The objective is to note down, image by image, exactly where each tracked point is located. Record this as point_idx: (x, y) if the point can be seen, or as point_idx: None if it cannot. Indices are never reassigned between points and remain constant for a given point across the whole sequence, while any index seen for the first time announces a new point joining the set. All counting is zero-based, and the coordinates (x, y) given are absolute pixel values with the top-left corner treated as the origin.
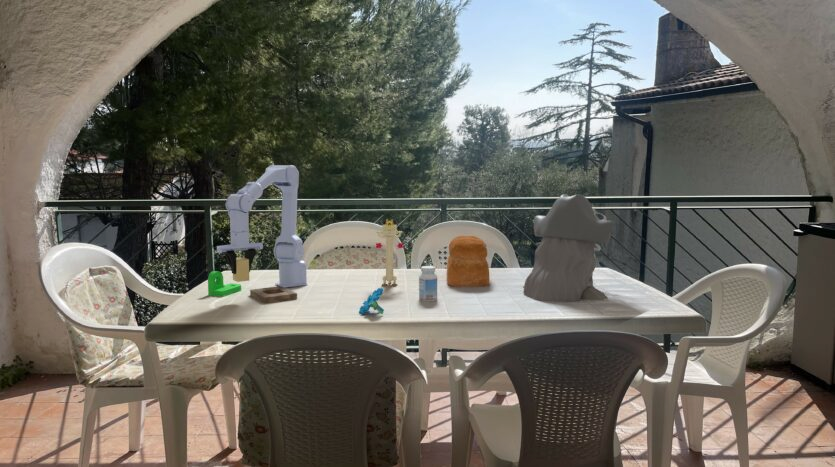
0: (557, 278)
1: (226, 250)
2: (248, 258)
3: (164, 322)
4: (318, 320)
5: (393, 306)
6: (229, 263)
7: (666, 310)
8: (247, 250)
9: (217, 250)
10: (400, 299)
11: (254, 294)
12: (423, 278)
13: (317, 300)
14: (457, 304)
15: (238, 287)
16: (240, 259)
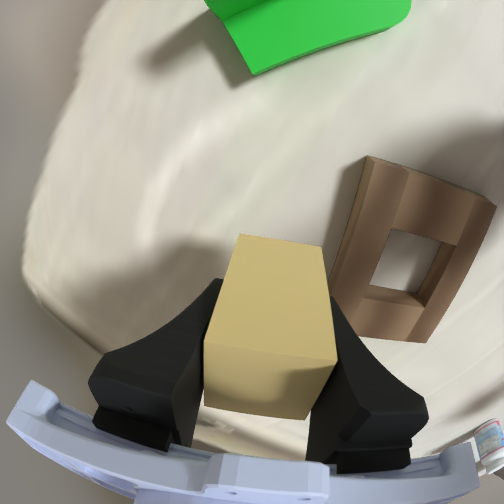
0: (498, 474)
1: (102, 439)
2: (315, 414)
3: (35, 288)
4: (294, 443)
5: (437, 435)
6: (179, 318)
7: (482, 473)
8: (330, 462)
9: (29, 401)
10: (484, 412)
11: (354, 217)
12: (482, 461)
13: (432, 362)
14: (471, 444)
15: (379, 30)
16: (249, 399)
